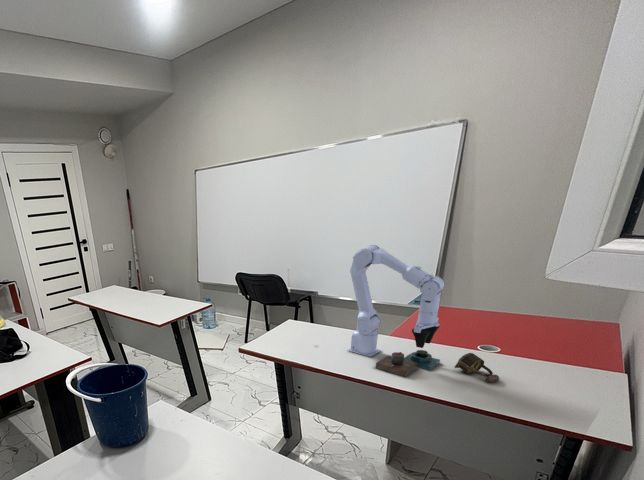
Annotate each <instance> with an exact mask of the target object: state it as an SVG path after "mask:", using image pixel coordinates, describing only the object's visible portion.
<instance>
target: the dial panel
mask: <svg viewBox="0 0 644 480" xmlns="http://www.w3.org/2000/svg"><path fill="white" fill-rule="evenodd" d="M391 357H392V355H389V354H388V355H387V356H385V357H383V358H382V359H379V360H377V362H375V369H377V370H380V371H383V372H387V373H390V374H394V375H397V376H401V377H403V378H407V377H408V376H409V375H411V374H412V373H414V372H415V371H416V370H418V368H419V367H418V363H416V362H412V361H408V360H404V361H403V364H402V365H394V364H392V363H391Z"/></svg>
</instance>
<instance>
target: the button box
mask: <svg viewBox="0 0 644 480" xmlns="http://www.w3.org/2000/svg"><path fill="white" fill-rule="evenodd" d="M404 360H408V361H412V362H416V363H418V368H419V369H423V370H427V371H431V370H433V369H434V368H435V367H437V366H438V365H440V363H441V359H439V358H435V357H433V356H432V354H430V353H429V352H428V354H427V357H418V356H416V351H413V352H411V353H410V354H408V355H406V356H404Z"/></svg>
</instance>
